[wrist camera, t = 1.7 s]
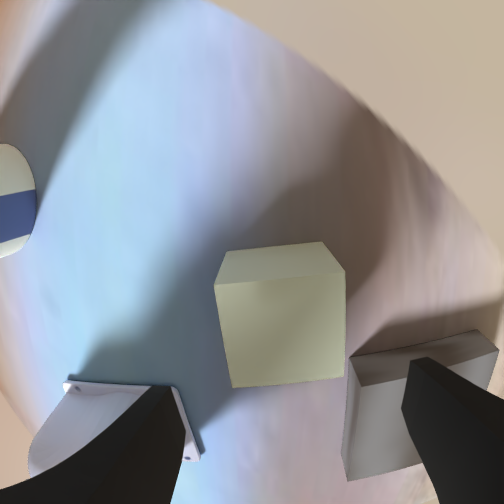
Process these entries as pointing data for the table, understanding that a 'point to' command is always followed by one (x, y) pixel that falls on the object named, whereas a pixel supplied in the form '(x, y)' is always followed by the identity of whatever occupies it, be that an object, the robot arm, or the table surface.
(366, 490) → the table surface
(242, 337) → the sage block
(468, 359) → the gray plinth
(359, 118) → the table surface
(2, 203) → the cream belted dress
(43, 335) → the table surface
